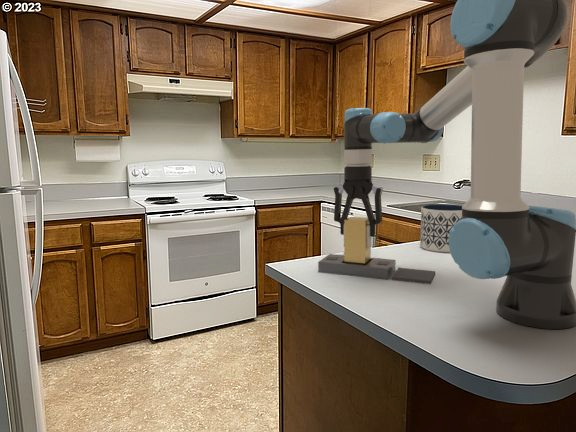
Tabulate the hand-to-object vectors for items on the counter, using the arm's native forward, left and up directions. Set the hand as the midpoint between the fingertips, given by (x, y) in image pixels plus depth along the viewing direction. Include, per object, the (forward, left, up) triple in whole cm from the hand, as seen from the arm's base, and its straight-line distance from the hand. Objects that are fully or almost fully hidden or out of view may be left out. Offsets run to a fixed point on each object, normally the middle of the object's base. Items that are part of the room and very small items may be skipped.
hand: (357, 246), depth 128 cm
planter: (+39, -20, -7) cm, 44 cm away
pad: (0, -16, -7) cm, 17 cm away
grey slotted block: (0, 0, -7) cm, 7 cm away
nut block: (0, 0, -4) cm, 4 cm away
